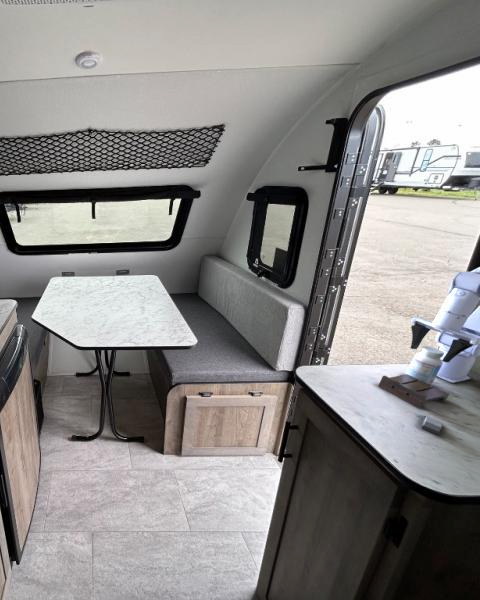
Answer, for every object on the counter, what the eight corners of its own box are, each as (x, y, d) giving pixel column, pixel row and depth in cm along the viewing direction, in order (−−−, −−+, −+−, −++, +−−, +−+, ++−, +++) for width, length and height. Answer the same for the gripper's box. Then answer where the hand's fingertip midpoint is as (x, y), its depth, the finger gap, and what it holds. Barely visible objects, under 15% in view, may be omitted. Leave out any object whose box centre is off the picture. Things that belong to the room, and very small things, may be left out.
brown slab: (403, 380, 100) (408, 370, 99) (445, 401, 92) (451, 390, 90) (377, 386, 97) (382, 375, 96) (418, 408, 88) (424, 397, 87)
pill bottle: (418, 376, 103) (434, 345, 99) (436, 388, 98) (454, 356, 93) (398, 374, 104) (413, 343, 100) (415, 386, 98) (431, 354, 94)
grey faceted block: (423, 417, 84) (427, 411, 84) (439, 424, 82) (443, 417, 81) (421, 428, 81) (424, 421, 80) (438, 435, 79) (442, 428, 78)
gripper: (415, 303, 97) (392, 342, 102) (482, 323, 85) (453, 368, 89) (428, 304, 100) (405, 343, 104) (495, 324, 87) (466, 368, 91)
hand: (428, 354), depth 97 cm, fingers open, 7 cm apart
